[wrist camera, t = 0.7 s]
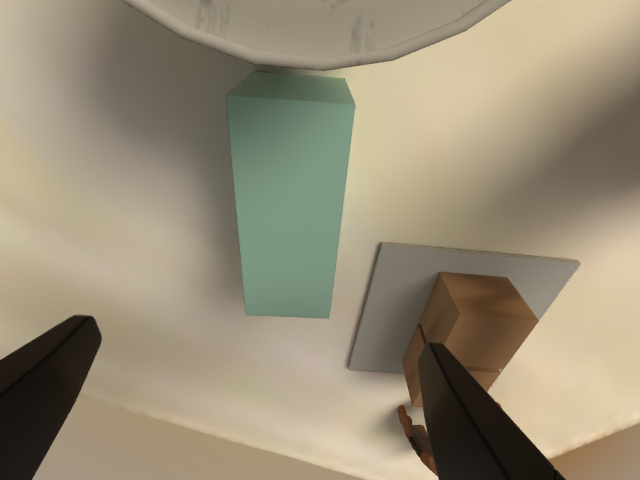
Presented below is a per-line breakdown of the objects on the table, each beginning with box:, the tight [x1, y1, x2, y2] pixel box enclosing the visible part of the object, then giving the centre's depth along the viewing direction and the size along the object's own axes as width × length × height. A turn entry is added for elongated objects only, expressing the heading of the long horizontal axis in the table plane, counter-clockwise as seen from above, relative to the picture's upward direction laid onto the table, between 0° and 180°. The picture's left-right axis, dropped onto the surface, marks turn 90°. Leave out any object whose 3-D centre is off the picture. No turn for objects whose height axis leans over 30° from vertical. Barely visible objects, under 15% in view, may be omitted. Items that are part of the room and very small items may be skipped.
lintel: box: [226, 72, 355, 319], centre depth 17 cm, size 11×4×6 cm, turn 176°
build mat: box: [348, 242, 581, 378], centre depth 26 cm, size 14×14×1 cm
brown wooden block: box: [402, 324, 500, 407], centre depth 26 cm, size 5×5×4 cm
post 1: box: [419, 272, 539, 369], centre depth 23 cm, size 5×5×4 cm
